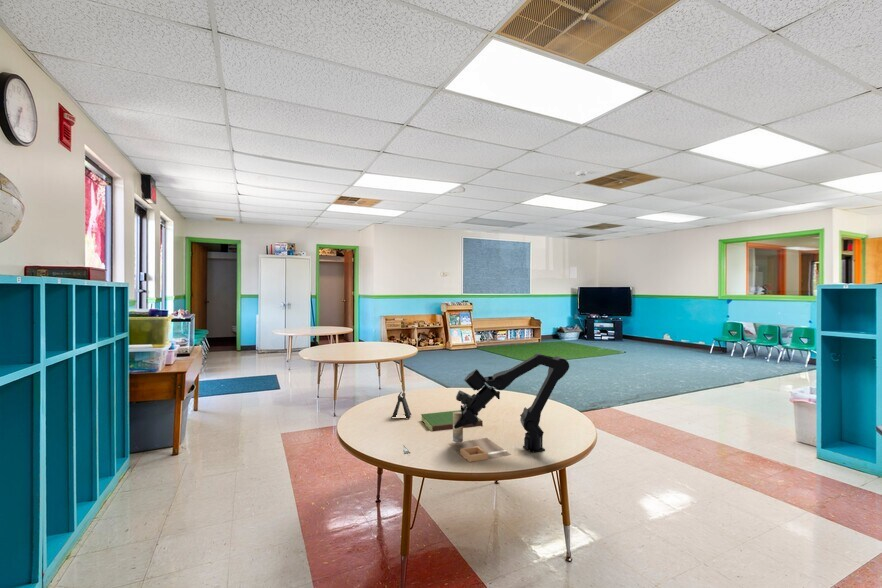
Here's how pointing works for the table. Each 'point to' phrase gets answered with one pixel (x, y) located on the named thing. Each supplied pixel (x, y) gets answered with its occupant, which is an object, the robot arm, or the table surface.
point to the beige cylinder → (458, 431)
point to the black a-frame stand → (405, 406)
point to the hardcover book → (443, 420)
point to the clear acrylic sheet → (484, 444)
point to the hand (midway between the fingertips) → (454, 425)
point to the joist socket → (480, 456)
